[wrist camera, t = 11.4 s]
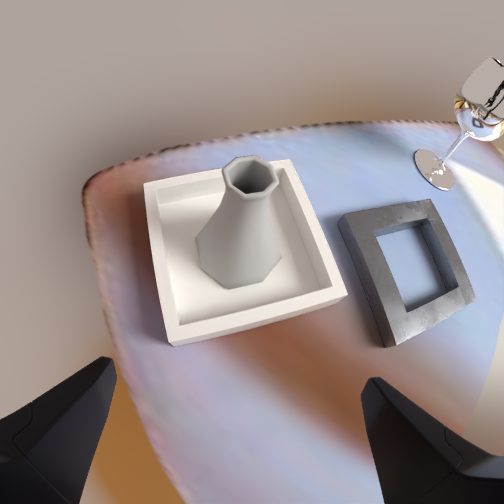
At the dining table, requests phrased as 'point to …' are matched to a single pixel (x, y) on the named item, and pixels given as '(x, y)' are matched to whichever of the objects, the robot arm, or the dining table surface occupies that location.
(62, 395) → the robot arm
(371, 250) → the holder
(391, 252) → the dining table surface
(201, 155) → the dining table surface
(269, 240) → the flask
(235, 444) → the dining table surface
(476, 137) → the wineglass
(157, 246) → the tray
